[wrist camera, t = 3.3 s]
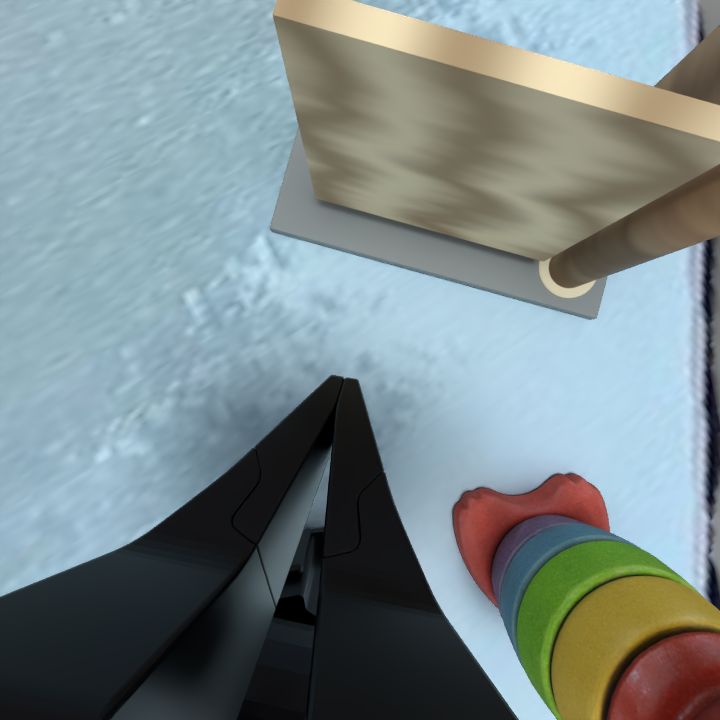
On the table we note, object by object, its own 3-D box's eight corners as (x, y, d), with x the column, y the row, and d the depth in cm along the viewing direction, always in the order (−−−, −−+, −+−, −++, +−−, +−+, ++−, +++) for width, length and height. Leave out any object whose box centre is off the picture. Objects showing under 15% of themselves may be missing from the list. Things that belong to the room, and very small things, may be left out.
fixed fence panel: (582, 293, 22) (920, 184, 9) (543, 282, 22) (824, 157, 9) (618, 152, 22) (998, -157, 9) (579, 141, 22) (905, -185, 9)
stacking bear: (588, 467, 22) (1483, 857, 5) (612, 602, 22) (1639, 1545, 4) (447, 492, 22) (818, 999, 4) (470, 628, 22) (954, 1727, 4)
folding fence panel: (547, 245, 21) (754, 115, 10) (543, 261, 21) (746, 149, 10) (320, 182, 21) (282, -19, 10) (315, 198, 21) (272, 14, 10)
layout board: (590, 319, 23) (597, 318, 22) (272, 231, 22) (269, 227, 22) (646, 96, 23) (656, 87, 22) (335, 7, 23) (334, -4, 22)
